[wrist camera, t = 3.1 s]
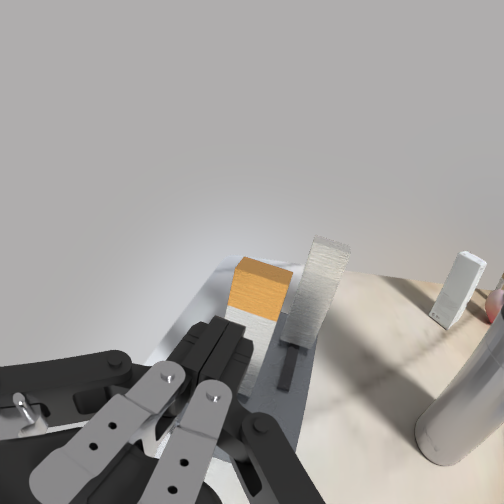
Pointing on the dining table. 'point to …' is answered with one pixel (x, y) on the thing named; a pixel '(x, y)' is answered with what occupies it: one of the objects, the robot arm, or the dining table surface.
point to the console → (279, 386)
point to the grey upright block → (315, 291)
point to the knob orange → (256, 308)
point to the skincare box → (457, 289)
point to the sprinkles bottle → (501, 283)
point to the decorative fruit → (494, 304)
